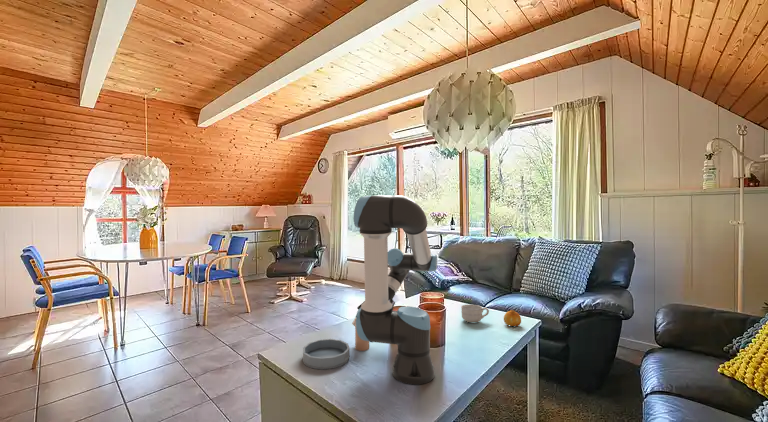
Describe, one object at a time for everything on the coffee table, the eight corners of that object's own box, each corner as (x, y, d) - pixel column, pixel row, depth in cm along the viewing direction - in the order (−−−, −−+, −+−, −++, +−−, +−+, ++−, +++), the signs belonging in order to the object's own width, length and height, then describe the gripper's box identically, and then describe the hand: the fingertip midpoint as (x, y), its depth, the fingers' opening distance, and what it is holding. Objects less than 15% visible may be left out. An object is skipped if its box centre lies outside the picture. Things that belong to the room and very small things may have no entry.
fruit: (515, 325, 169) (518, 309, 172) (499, 323, 174) (502, 307, 178) (522, 330, 174) (524, 315, 177) (506, 328, 179) (508, 312, 183)
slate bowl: (358, 359, 137) (358, 348, 137) (319, 374, 125) (319, 362, 125) (331, 345, 150) (331, 335, 150) (294, 358, 138) (294, 347, 138)
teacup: (460, 323, 178) (460, 308, 178) (462, 317, 188) (462, 302, 188) (488, 326, 174) (488, 311, 174) (488, 319, 184) (489, 305, 184)
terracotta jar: (373, 348, 148) (373, 320, 147) (361, 352, 143) (361, 323, 143) (363, 343, 153) (363, 316, 152) (351, 347, 148) (351, 319, 148)
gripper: (413, 299, 152) (388, 342, 142) (375, 288, 170) (350, 326, 160) (404, 289, 148) (378, 333, 138) (366, 279, 166) (341, 317, 156)
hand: (363, 329), depth 149 cm, fingers open, 13 cm apart
